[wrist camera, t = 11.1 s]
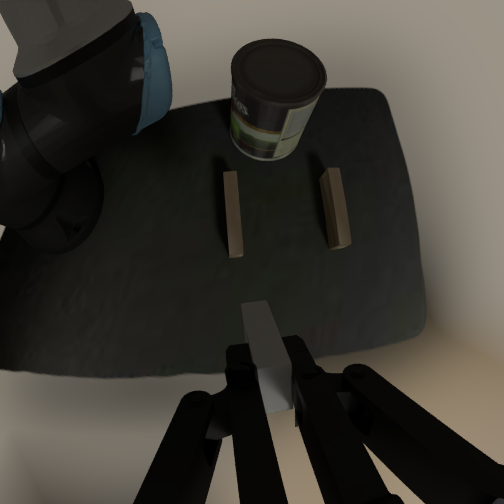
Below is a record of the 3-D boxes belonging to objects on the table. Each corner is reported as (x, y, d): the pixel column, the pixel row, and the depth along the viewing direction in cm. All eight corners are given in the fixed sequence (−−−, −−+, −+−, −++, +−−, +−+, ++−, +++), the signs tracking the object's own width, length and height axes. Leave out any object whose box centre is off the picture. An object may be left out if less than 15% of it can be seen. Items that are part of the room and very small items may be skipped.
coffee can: (235, 166, 40) (238, 108, 26) (225, 106, 41) (225, 40, 27) (307, 158, 41) (339, 103, 27) (291, 101, 42) (312, 38, 28)
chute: (229, 257, 38) (229, 253, 34) (223, 183, 40) (223, 171, 36) (340, 248, 39) (351, 243, 36) (329, 178, 41) (339, 167, 37)
